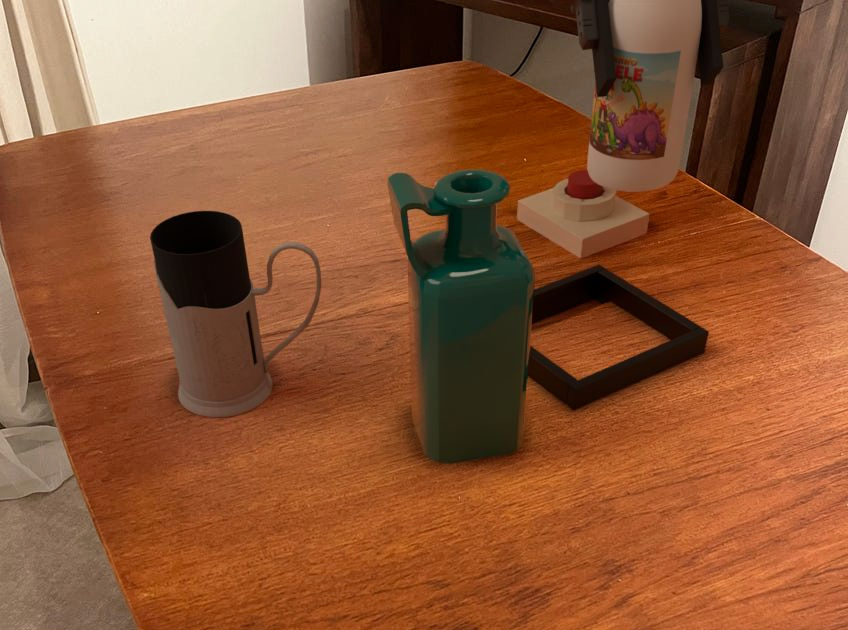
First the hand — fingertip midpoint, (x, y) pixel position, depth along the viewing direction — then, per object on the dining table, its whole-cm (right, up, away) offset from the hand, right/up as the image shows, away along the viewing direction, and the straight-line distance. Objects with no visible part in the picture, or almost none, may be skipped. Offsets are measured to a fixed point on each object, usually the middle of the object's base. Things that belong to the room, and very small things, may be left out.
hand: (659, 82), depth 79 cm
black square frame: (-2, -16, +16) cm, 23 cm away
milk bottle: (0, -3, +9) cm, 9 cm away
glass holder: (-33, -20, +15) cm, 41 cm away
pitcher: (-15, -26, +8) cm, 31 cm away
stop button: (0, +4, +29) cm, 29 cm away
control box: (+1, +2, +32) cm, 32 cm away
